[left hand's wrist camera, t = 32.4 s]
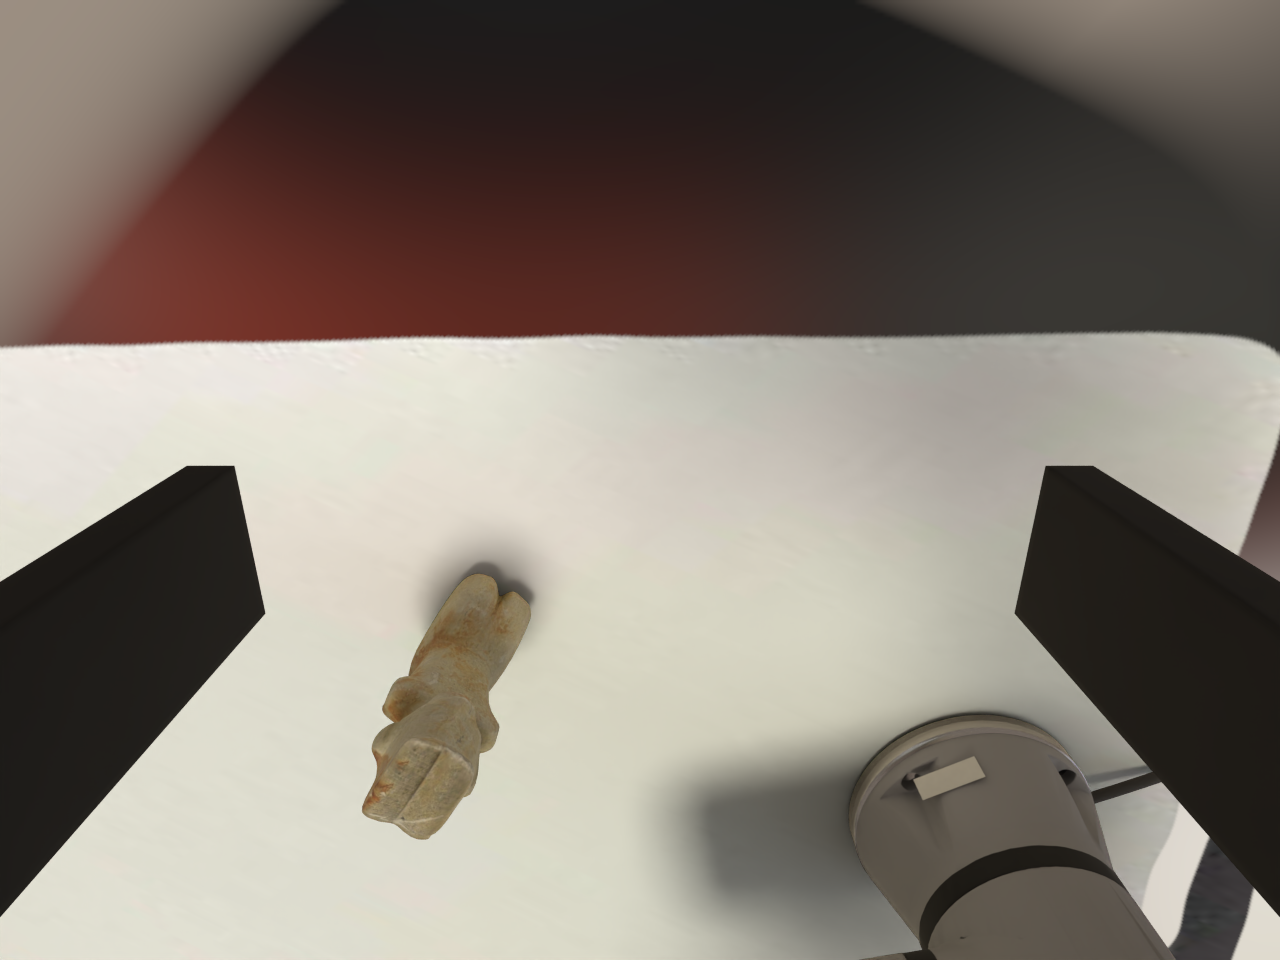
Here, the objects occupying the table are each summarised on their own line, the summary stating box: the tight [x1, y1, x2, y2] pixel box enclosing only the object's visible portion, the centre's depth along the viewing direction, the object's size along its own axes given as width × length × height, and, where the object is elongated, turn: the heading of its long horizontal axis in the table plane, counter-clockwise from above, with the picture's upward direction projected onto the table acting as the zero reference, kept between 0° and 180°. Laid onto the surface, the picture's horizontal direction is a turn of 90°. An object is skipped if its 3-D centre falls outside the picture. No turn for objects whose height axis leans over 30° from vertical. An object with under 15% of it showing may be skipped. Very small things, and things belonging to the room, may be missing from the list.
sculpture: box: [362, 574, 531, 840], centre depth 38 cm, size 6×7×15 cm
